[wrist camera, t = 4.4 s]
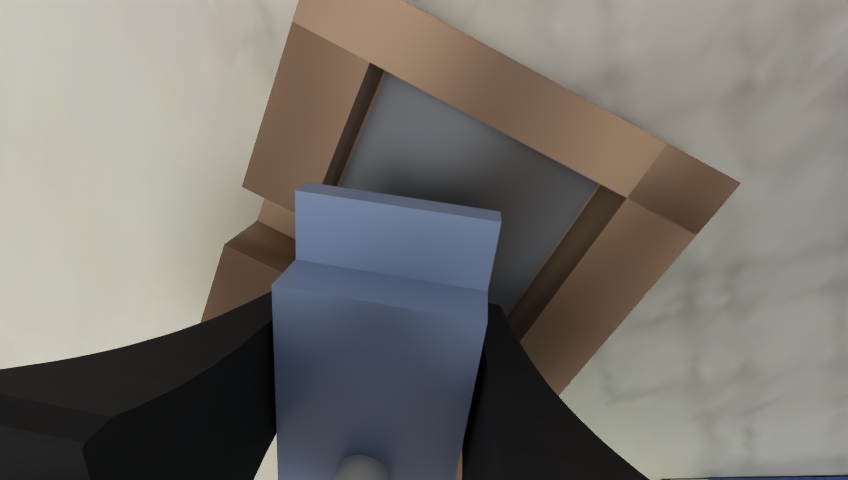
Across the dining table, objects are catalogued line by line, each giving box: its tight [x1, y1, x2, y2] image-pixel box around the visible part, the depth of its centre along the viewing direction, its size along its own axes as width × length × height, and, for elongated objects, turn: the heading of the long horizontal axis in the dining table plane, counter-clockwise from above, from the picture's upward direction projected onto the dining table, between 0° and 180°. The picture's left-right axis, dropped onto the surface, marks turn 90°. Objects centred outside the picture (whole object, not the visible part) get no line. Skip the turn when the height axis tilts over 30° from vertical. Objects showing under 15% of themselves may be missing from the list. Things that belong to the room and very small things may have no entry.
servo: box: [272, 182, 502, 480], centre depth 11 cm, size 4×9×6 cm, turn 173°
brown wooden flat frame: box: [201, 0, 741, 480], centre depth 14 cm, size 11×14×3 cm
